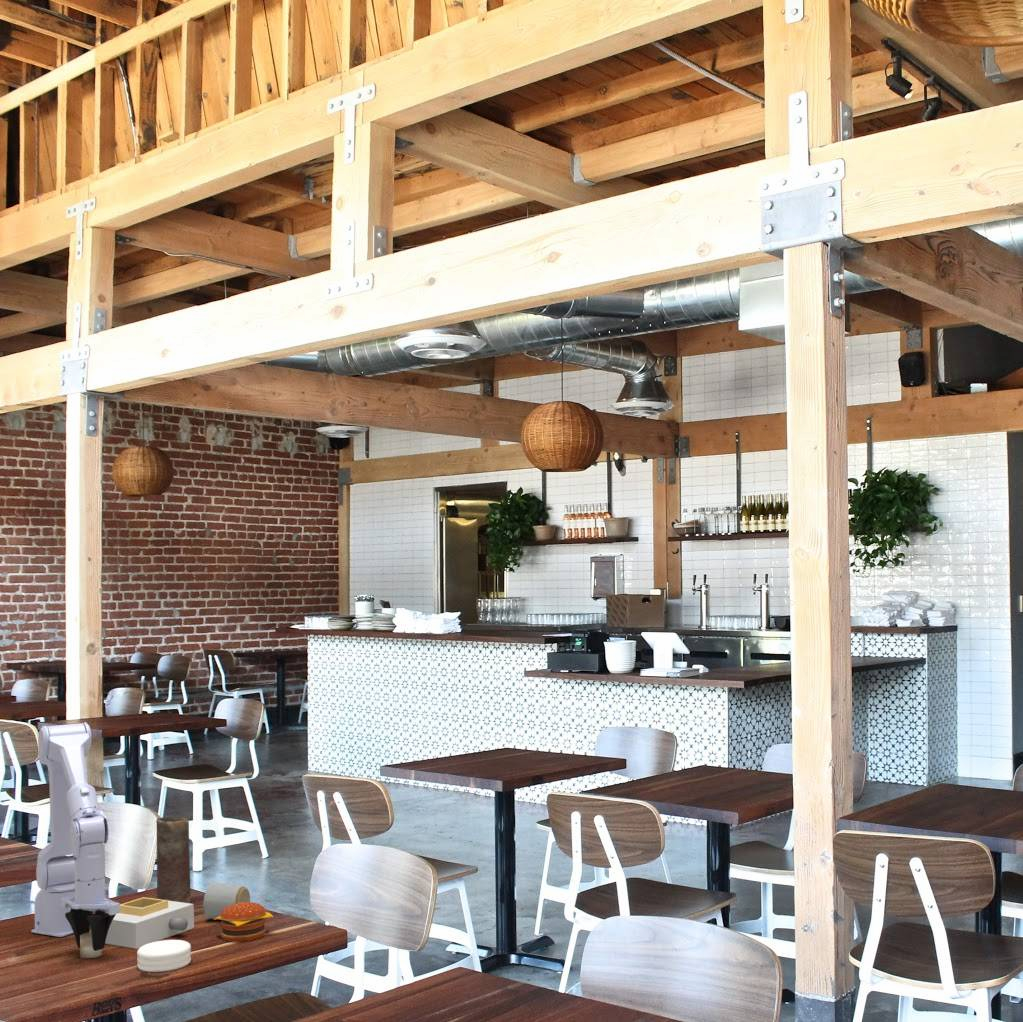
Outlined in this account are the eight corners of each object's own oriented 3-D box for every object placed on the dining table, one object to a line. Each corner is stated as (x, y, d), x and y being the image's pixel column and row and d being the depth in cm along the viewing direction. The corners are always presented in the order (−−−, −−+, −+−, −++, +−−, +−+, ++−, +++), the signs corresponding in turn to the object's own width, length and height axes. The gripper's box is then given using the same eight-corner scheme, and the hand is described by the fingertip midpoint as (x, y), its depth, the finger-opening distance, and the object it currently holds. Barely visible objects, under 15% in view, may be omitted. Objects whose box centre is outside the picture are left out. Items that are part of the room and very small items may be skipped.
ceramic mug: (238, 923, 261) (237, 887, 262) (202, 923, 263) (202, 886, 263) (258, 911, 271) (257, 876, 272) (223, 910, 273) (223, 875, 274)
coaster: (134, 962, 237) (133, 943, 237) (186, 954, 241) (186, 936, 241) (140, 976, 228) (140, 957, 228) (195, 968, 232) (195, 949, 232)
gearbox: (91, 941, 251) (90, 909, 252) (150, 921, 265) (149, 891, 266) (146, 950, 243) (146, 917, 244) (204, 929, 257) (203, 898, 258)
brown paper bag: (165, 903, 281) (164, 814, 282) (196, 903, 280) (194, 814, 281) (151, 911, 274) (150, 821, 275) (182, 911, 272) (181, 821, 274)
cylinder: (75, 956, 241) (75, 936, 241) (92, 951, 244) (91, 930, 244) (89, 959, 239) (89, 938, 239) (106, 953, 242) (105, 933, 242)
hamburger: (247, 927, 258) (247, 895, 259) (275, 934, 252) (275, 902, 252) (210, 937, 251) (209, 904, 252) (238, 945, 245) (237, 911, 245)
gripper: (48, 879, 243) (49, 949, 242) (99, 885, 235) (100, 957, 234) (77, 871, 249) (78, 939, 248) (127, 877, 241) (128, 947, 241)
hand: (90, 947), depth 242 cm, fingers closed on cylinder, 4 cm apart
